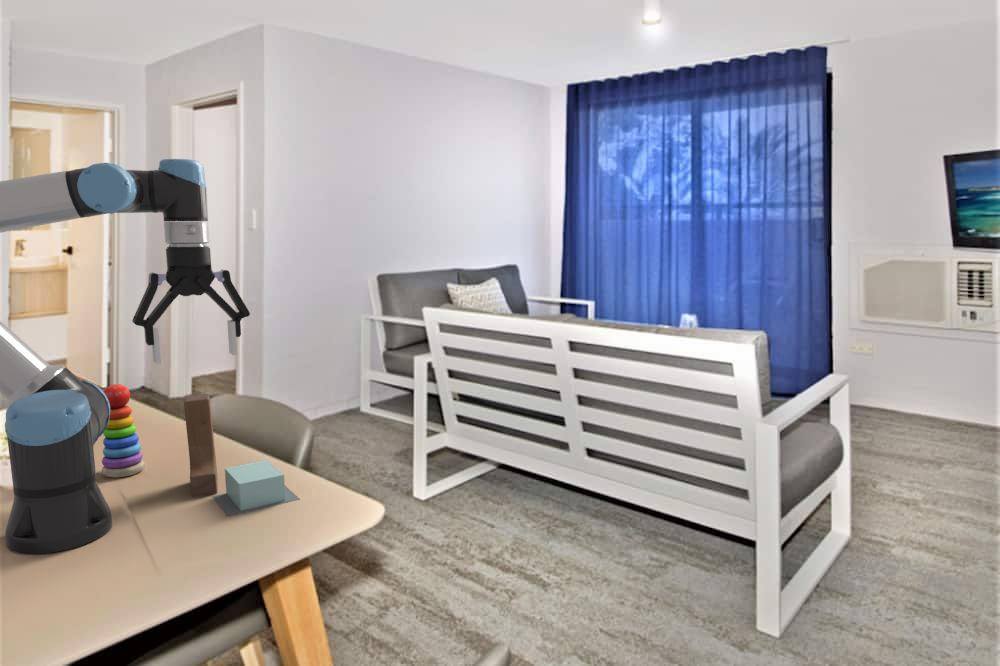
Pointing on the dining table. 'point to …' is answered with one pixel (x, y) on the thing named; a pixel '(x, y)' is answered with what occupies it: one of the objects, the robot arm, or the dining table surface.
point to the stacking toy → (120, 436)
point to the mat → (233, 509)
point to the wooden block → (201, 445)
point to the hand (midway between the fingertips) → (196, 358)
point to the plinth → (254, 484)
